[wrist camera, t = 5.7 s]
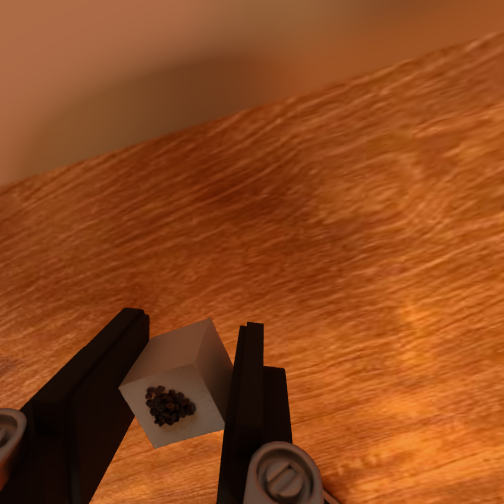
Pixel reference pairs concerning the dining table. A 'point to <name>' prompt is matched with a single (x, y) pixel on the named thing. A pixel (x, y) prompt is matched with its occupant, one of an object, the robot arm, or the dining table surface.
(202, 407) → the cube with dark pebbles
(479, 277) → the dining table surface
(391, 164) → the dining table surface
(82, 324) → the dining table surface
